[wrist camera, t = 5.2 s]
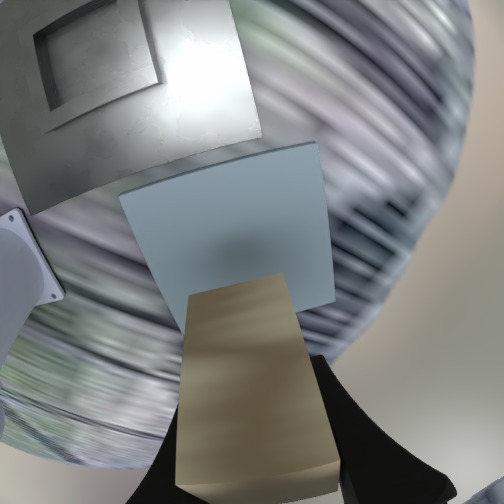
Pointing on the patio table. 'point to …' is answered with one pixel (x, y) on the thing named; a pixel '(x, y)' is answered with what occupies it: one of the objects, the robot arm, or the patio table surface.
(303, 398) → the peg
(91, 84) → the socket base
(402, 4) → the patio table surface
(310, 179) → the board
